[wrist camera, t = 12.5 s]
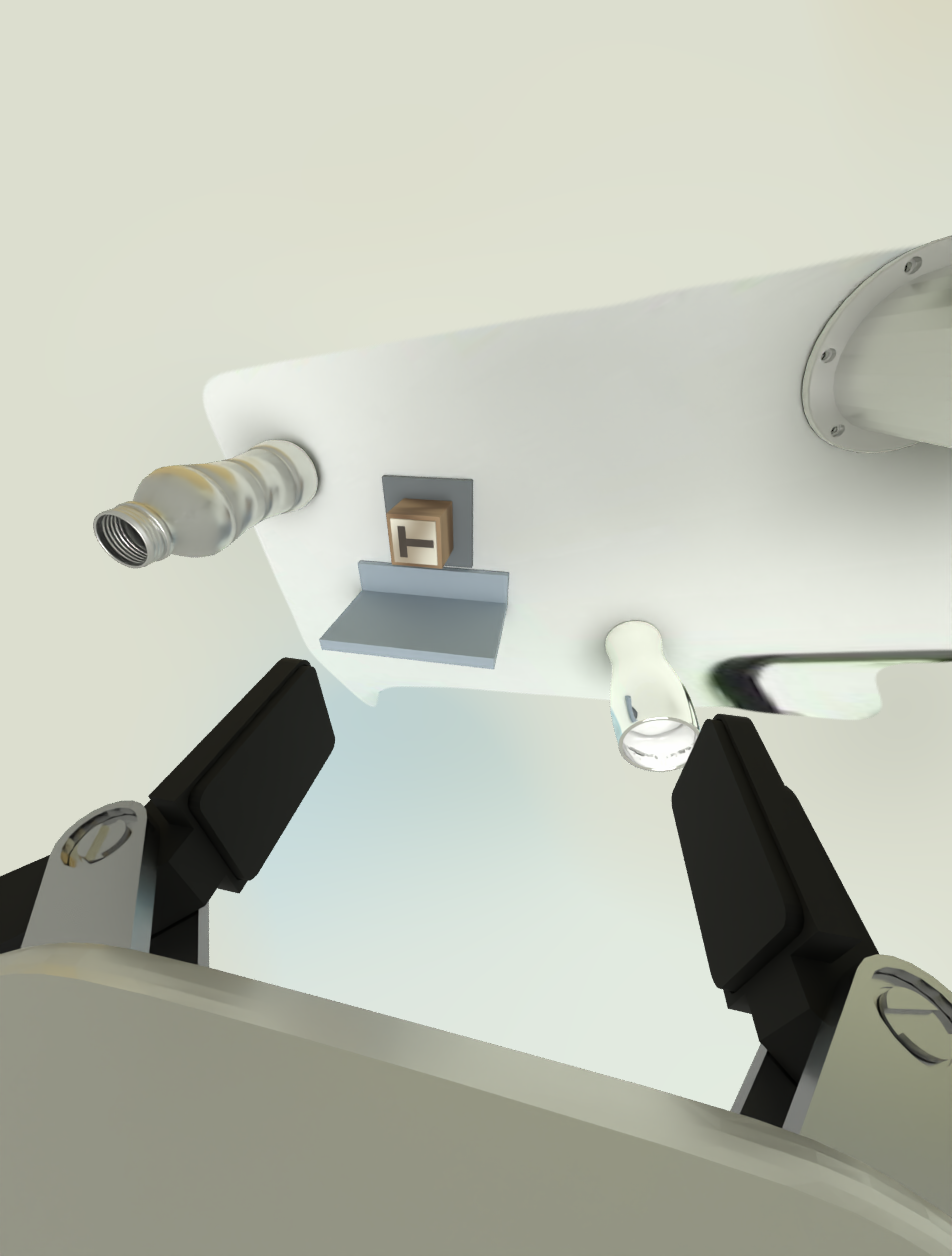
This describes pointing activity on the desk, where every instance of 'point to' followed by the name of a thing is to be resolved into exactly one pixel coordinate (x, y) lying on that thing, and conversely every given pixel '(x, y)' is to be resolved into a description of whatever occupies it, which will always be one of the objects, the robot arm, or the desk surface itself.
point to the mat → (444, 491)
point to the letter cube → (420, 532)
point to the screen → (424, 615)
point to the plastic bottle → (206, 504)
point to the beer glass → (648, 700)
